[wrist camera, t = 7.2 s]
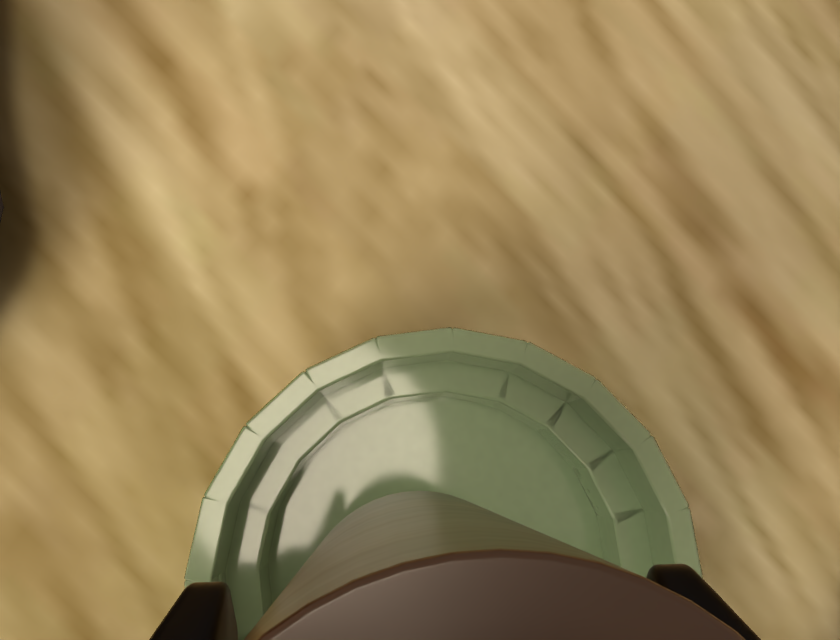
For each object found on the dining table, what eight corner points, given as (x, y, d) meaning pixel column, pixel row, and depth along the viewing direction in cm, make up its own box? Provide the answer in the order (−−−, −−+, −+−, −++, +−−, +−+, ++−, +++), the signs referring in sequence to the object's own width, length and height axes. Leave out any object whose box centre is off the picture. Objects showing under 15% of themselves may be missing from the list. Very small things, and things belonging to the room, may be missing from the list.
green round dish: (731, 567, 22) (806, 591, 18) (430, 895, 20) (441, 999, 16) (441, 270, 23) (453, 231, 19) (132, 557, 21) (76, 578, 18)
